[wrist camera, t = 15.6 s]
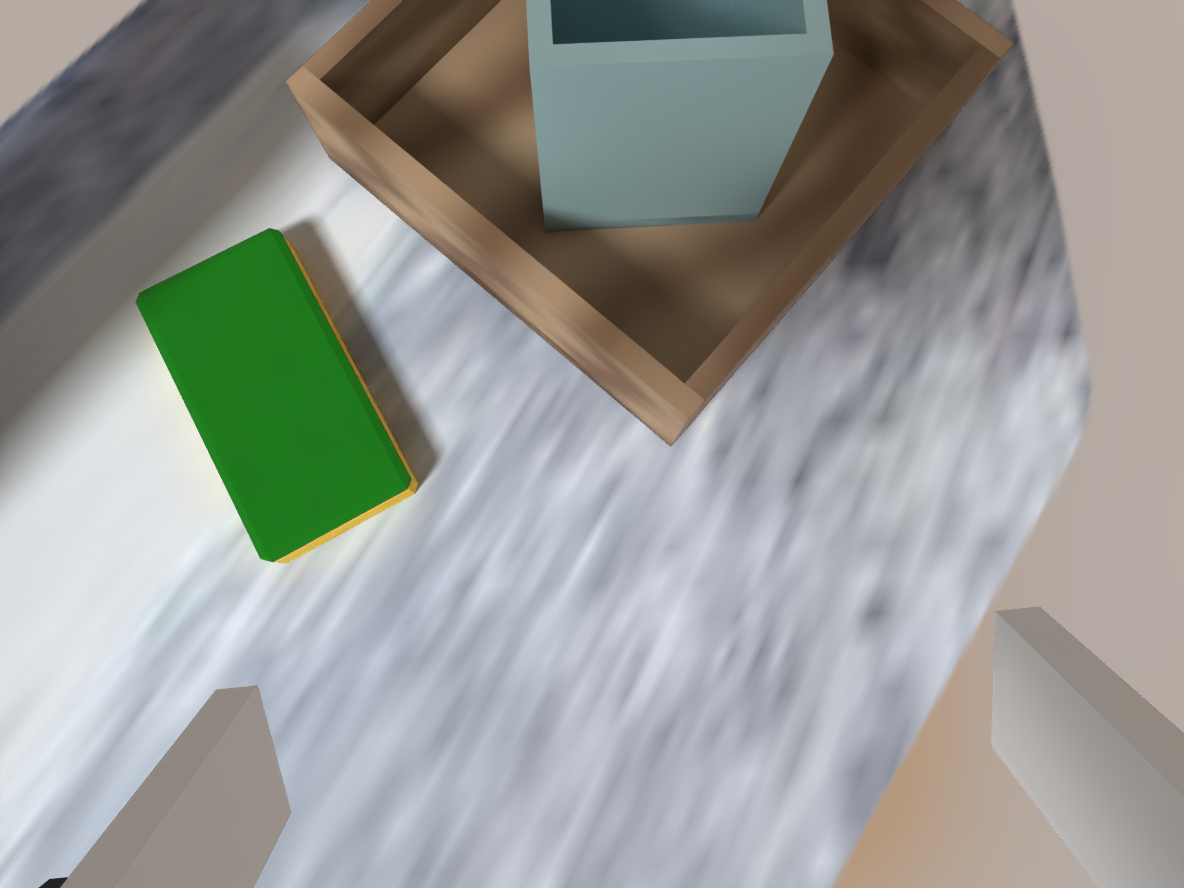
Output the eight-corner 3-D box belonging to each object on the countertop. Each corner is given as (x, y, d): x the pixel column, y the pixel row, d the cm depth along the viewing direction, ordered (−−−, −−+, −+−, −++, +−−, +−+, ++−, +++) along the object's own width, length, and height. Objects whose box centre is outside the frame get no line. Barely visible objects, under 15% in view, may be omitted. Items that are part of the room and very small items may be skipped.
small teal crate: (545, 231, 38) (529, 67, 26) (535, 43, 40) (516, -190, 28) (754, 221, 38) (833, 54, 26) (735, 35, 40) (800, -200, 28)
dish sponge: (293, 245, 39) (274, 223, 37) (423, 491, 37) (412, 483, 34) (159, 313, 38) (131, 295, 36) (283, 567, 36) (262, 565, 34)
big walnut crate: (329, 158, 39) (285, 81, 33) (619, -125, 43) (626, -240, 37) (670, 446, 37) (688, 418, 31) (950, 123, 40) (1014, 42, 34)
